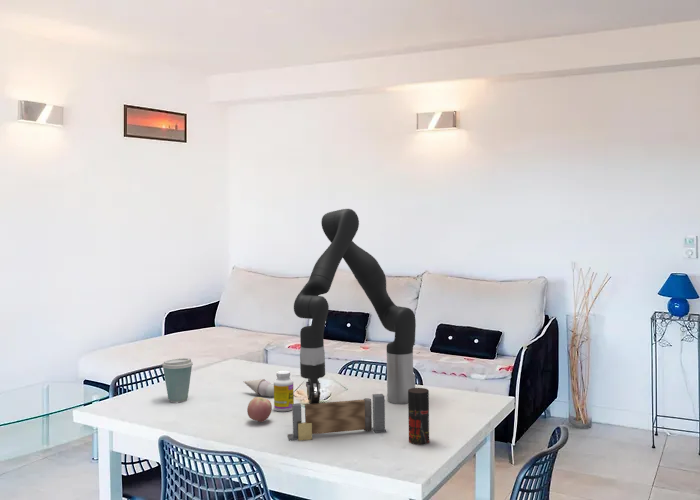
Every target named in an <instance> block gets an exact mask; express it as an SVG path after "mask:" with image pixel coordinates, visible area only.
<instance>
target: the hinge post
mask: <svg viewBox="0 0 700 500" xmlns="http://www.w3.org/2000/svg"><path fill="white" fill-rule="evenodd" d="M385 397H386V396H385V395H384V394H383V393H375V394H374V393H373V394H372V432H373V433H374V434H383V433H387V429H386V416H385V415H386V411H385V410H386V406H385V405H386V404H385V403H386V402H385V401H386V400H385Z"/></svg>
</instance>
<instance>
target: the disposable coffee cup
mask: <svg viewBox="0 0 700 500" xmlns="http://www.w3.org/2000/svg"><path fill="white" fill-rule="evenodd" d="M192 368H193V362H192V358H189V357H184V358H181V357H180V358H172V359H167V360H165V361H163V363H162V369H163V376H164V381H165V387H166V392H167V393H166V394H167V398H168V401H169V402H170V403H174V402H178V403H183V402H186V401H187V400H188V398H189V391H190V384H191V376H192Z"/></svg>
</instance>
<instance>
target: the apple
mask: <svg viewBox="0 0 700 500" xmlns="http://www.w3.org/2000/svg"><path fill="white" fill-rule="evenodd" d="M246 409H247V416H248V418H249V419H251V420H253V421H256V422H260V423H264V422H265V421H267V420H268V418H269V417H270V415H271V413H272V409H273V406H272V402H271V401H270V399H267V398H266V397H263V396H255V397H253V398H252V399H251V400H250V401H249V402H248V404H247V408H246Z"/></svg>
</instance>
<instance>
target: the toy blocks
mask: <svg viewBox="0 0 700 500" xmlns="http://www.w3.org/2000/svg"><path fill="white" fill-rule="evenodd" d="M291 412H292V433H287V435H286V436H287V440H288V441H289V442H291V441H298V442H300V441H301V440H302V441H311V440H313V434H312V422H302V421H303V420H302V404H301V403H294V404H292V410H291ZM290 440H291V441H290Z"/></svg>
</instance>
